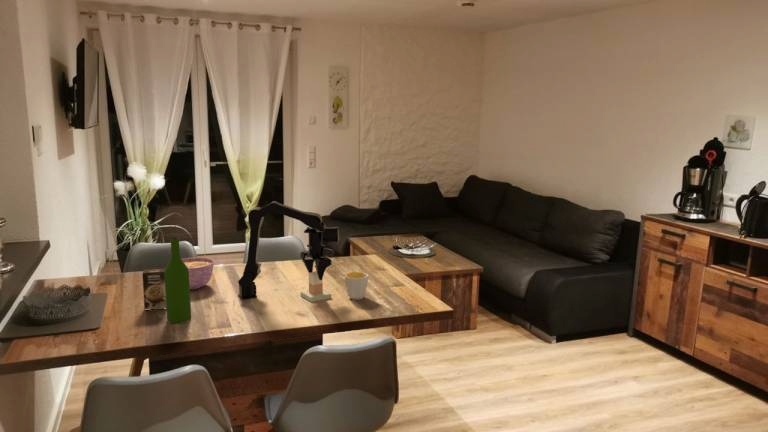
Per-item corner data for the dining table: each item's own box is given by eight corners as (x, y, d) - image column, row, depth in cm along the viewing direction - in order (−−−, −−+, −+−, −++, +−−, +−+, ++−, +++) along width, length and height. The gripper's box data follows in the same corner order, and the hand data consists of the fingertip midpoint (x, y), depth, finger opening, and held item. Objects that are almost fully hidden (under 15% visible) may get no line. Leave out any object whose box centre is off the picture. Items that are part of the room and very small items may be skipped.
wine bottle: (183, 314, 236) (178, 235, 230) (195, 319, 230) (191, 238, 224) (162, 320, 229) (157, 238, 223) (175, 325, 223) (170, 242, 217)
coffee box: (144, 311, 239) (141, 273, 236) (146, 306, 245) (143, 269, 242) (167, 309, 241) (165, 271, 238) (169, 304, 247) (166, 267, 244)
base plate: (310, 302, 252) (310, 297, 251) (300, 296, 260) (300, 291, 259) (331, 298, 257) (331, 293, 257) (320, 292, 265) (320, 288, 265)
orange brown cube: (313, 294, 255) (313, 285, 254) (309, 292, 259) (308, 282, 258) (322, 293, 257) (322, 283, 257) (318, 290, 261) (317, 280, 260)
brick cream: (313, 285, 254) (313, 275, 253) (308, 282, 258) (308, 272, 257) (322, 283, 257) (322, 273, 256) (317, 280, 260) (317, 271, 259)
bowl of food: (221, 281, 280) (220, 258, 278) (205, 294, 261) (203, 269, 259) (181, 280, 282) (180, 256, 280) (162, 292, 263) (160, 267, 261)
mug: (371, 300, 255) (371, 276, 253) (349, 302, 251) (349, 279, 249) (361, 291, 267) (361, 268, 266) (339, 293, 264) (339, 271, 262)
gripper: (342, 244, 251) (342, 279, 254) (321, 236, 266) (321, 269, 269) (319, 247, 245) (319, 283, 247) (299, 239, 260) (299, 273, 263)
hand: (315, 277), depth 257 cm, fingers open, 9 cm apart
